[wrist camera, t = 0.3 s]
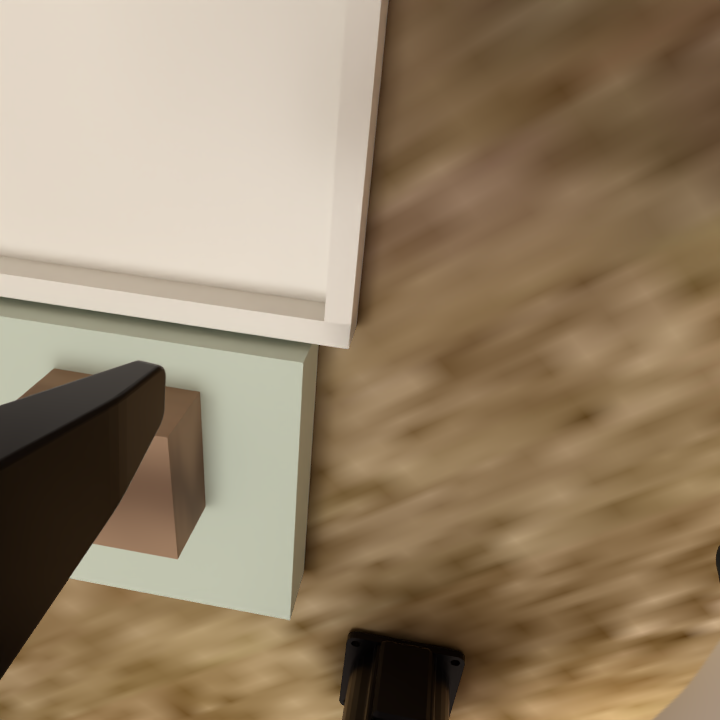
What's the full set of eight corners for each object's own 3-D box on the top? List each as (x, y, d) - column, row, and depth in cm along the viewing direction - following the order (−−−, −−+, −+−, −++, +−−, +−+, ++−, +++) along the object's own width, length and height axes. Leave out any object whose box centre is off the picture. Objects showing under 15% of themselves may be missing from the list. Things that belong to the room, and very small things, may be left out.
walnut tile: (205, 506, 26) (177, 559, 24) (75, 483, 27) (34, 533, 24) (200, 391, 23) (167, 437, 21) (53, 368, 24) (4, 410, 21)
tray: (356, 326, 24) (344, 362, 22) (-36, 268, 26) (-92, 295, 23) (402, -137, 17) (392, -167, 14) (-149, -184, 18) (-249, -218, 16)
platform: (303, 571, 32) (289, 620, 29) (53, 525, 33) (19, 568, 30) (319, 327, 25) (303, 363, 22) (-1, 279, 26) (-53, 308, 23)
